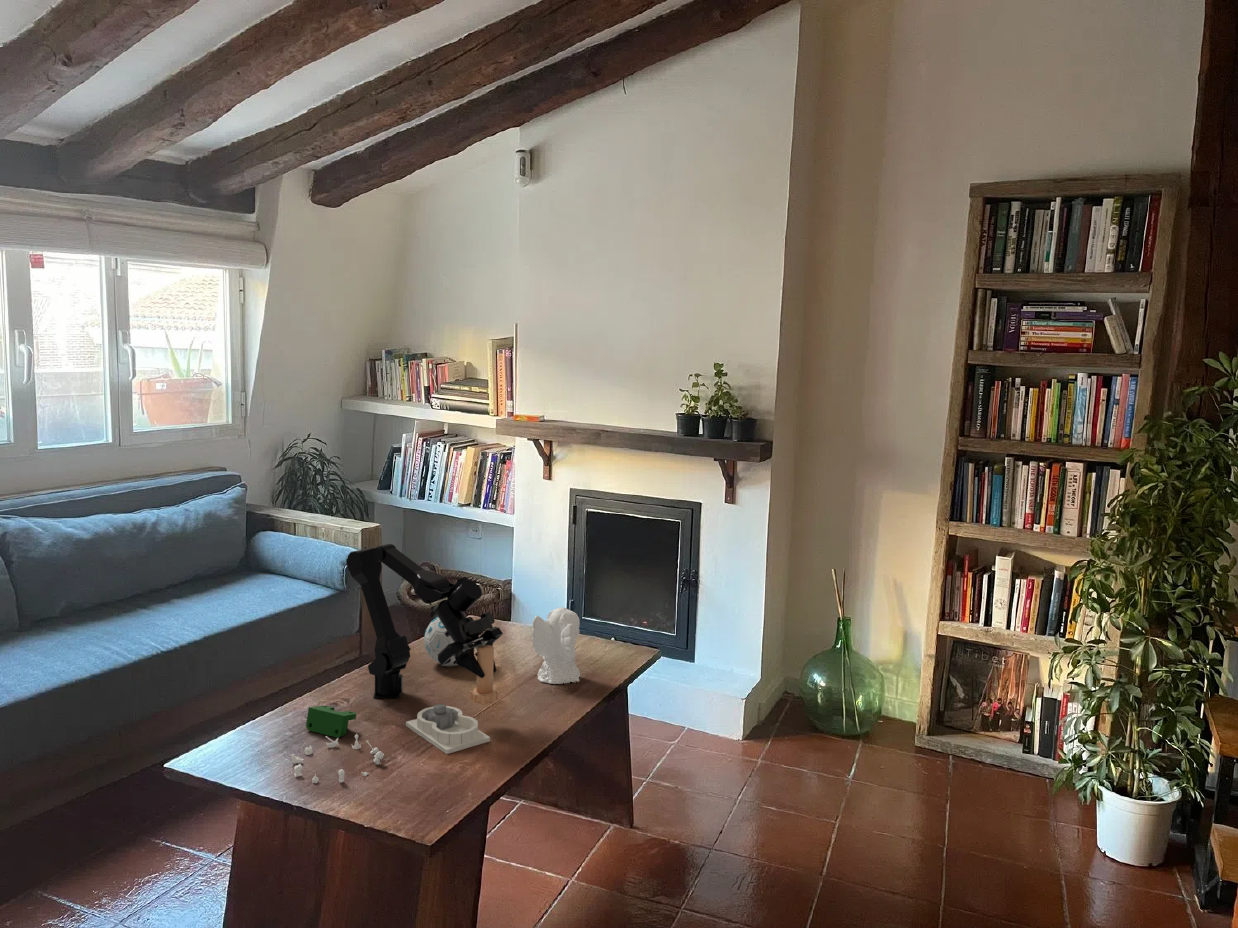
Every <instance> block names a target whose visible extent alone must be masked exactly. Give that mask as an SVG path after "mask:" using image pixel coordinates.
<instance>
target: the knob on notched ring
mask: <svg viewBox="0 0 1238 928" xmlns="http://www.w3.org/2000/svg"><path fill="white" fill-rule="evenodd" d="M494 650H495V647H494V646H490V645H481V646H478V647H477V650H476V652H477V656H476V660H477V661H478V663H479V665H480V666H481V668H482V670H483V672H484V674H485V676H484V677H483V678H481V677H479V676H477V675H476V687H474V688H473V689H472V690H470V693H469V694H470V696H469V697H470V699H469V700H471V701H472V703H473V704H480V705H486V704H488V705H489V704H495V703H496V702H497V701H499V700H500V699H499V697H500V695H499V694H500V692H499V691H500V690H497V687H495V686H494V673H493V665H494V662H495V659H494V657H495V655H494V654H495V653H494V652H495V651H494Z"/></svg>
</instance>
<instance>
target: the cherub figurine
mask: <svg viewBox="0 0 1238 928" xmlns="http://www.w3.org/2000/svg"><path fill="white" fill-rule="evenodd" d="M580 625H581V622H580V618H579V616H578V614H577V613H576V612H574V611H573V610H570V609H568V608H567V607H563V606H560V607H557V608H555V609H552V610H551V611H549V613H548V614H547V616H546V620H544V619H543V618H542V617H540V616H539V615H535V617H534V618H533V621H532V629H531V635H532V638H531V642H532V644H531V645H532V647H533V648H534V649H533V650H534V652H535V653H536V654H537V655H538V656H539V657H542V659H543V660H544V661H543V662H542V664H541V667H540V668H539V670H538V672H537V675H536V676H537V680H538V681H539V682H541V683H547V684H554V685H556V684H557V685H561V684H563V683H564V684H571V683H570V682H572V683H576V682H575V681H579V682H580V678H581V673H580V669H579V668H578V667H577V666H576V652H577V650H576V648H575V647H576V645H577V642H576V639H578V637H579V635H580ZM579 677H580V678H579Z"/></svg>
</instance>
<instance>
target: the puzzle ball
mask: <svg viewBox="0 0 1238 928" xmlns="http://www.w3.org/2000/svg"><path fill="white" fill-rule="evenodd" d="M424 631H425V632H424V636H423V645H424V648H425V650H426V653H427V655H428V656H429V658H430V659H432V660H433V661H435V662H437V664H440V662H439V661H438V654H439V653H440V652H441V651H442V650H443V649H444V648H445V647H446V646H447V645H449V644H451V643H454V641H453V639H452V638H451V636H448V637H446V635H445V633H446V632H447V630H446V628H445V627H444V625H443V624H442V622H441V621H440V619H439V618H438V616H435V617H434V618H433V620H431V621H430V623H429V624H428V626H427V628H426V629H425V630H424ZM473 644H475V643H473ZM475 650H476V648H474V652H475ZM454 657H455V656H452V657H451V661H450V663H448V664H446V665H443V667H456V666H458V665H457V664H453V662H454V661H455V660H456V659H455V658H454Z"/></svg>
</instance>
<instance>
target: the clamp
mask: <svg viewBox="0 0 1238 928" xmlns="http://www.w3.org/2000/svg"><path fill="white" fill-rule="evenodd" d="M356 718H357V712H355V711H351V710H348V711H347V710H346V711H338V710H335V707H333V706H329V705H317V706H309V707H308V709H307V716H306V724H305V728H306V730H307V731H310V732H313V733H317V734H321V735H326V736H328V737H329V736H330V737H334V738H340V737H344V736H345V735H346V734H347V730H348V727H349V721H352V720H356Z"/></svg>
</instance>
